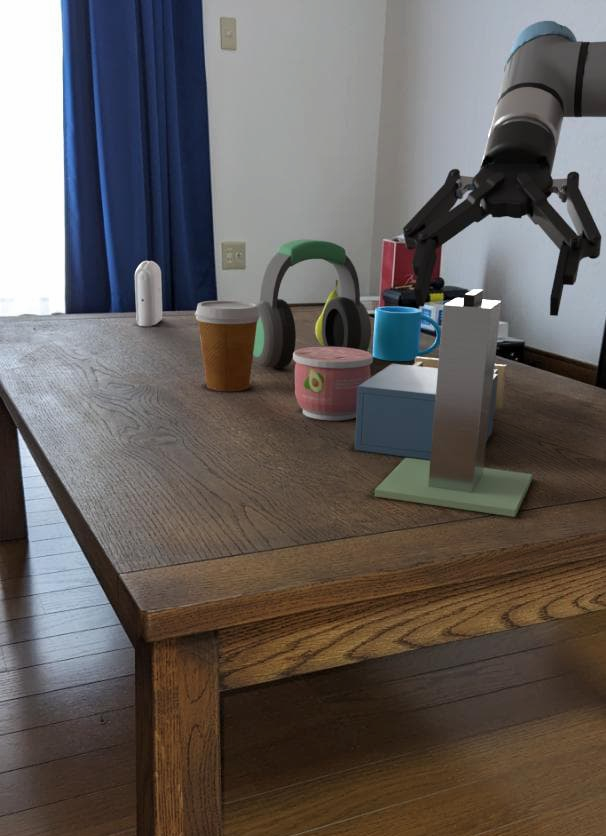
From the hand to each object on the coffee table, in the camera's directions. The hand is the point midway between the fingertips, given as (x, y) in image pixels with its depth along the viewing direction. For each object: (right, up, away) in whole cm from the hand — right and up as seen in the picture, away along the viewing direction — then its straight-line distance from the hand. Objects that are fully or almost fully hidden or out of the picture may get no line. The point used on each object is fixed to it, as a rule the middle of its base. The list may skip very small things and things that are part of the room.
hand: (484, 302), depth 90 cm
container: (-15, -7, +31) cm, 35 cm away
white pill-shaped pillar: (-50, +21, +97) cm, 111 cm away
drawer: (+2, -6, +30) cm, 31 cm away
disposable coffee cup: (-30, -1, +44) cm, 53 cm away
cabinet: (-3, -12, +19) cm, 23 cm away
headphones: (-17, +5, +60) cm, 63 cm away
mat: (-2, -19, +3) cm, 19 cm away
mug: (0, +8, +69) cm, 70 cm away
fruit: (-13, +11, +76) cm, 78 cm away
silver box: (-3, -18, +2) cm, 18 cm away
